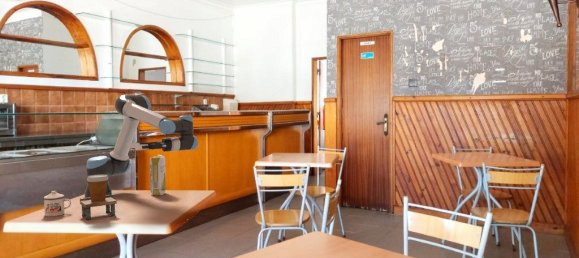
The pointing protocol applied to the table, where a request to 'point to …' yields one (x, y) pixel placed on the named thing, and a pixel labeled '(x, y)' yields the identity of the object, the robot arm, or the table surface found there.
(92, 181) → the disposable coffee cup
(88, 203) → the peg shelf
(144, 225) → the table surface
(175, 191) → the table surface
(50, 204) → the teacup with lid
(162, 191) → the juice carton
